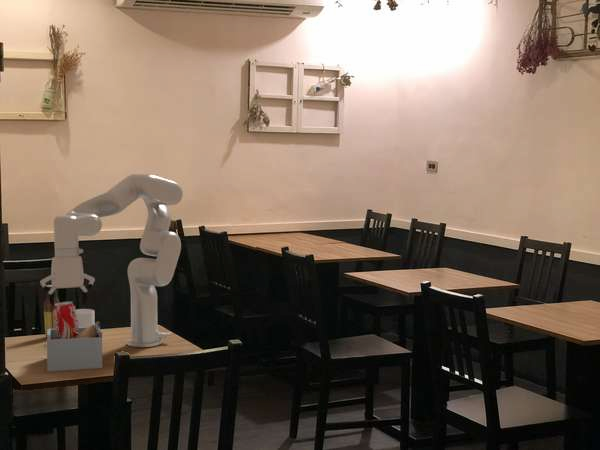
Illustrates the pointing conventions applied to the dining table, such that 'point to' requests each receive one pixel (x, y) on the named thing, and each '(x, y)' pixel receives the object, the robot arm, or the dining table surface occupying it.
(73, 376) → the dining table surface
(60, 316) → the soda can
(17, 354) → the dining table surface
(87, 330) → the flap
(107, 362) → the dining table surface
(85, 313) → the mug
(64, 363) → the bin
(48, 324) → the sauce bottle
